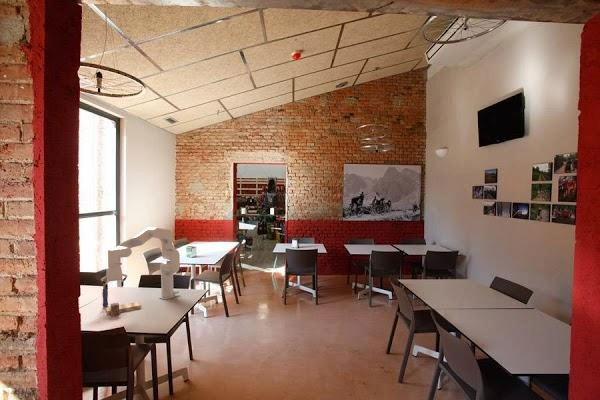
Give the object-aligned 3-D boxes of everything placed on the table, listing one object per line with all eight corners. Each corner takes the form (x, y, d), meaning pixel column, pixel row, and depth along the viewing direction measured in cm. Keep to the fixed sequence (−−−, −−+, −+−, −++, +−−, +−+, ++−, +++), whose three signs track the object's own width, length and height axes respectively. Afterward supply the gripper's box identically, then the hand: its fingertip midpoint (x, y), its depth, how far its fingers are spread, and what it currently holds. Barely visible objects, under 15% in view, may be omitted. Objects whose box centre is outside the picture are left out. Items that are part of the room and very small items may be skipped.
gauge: (116, 309, 249) (116, 299, 249) (119, 315, 238) (119, 304, 238) (109, 310, 246) (109, 300, 246) (111, 316, 235) (111, 305, 235)
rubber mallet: (102, 309, 249) (102, 271, 248) (94, 308, 250) (94, 270, 250) (115, 304, 261) (114, 267, 260) (107, 303, 262) (107, 267, 262)
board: (139, 304, 260) (138, 301, 260) (141, 308, 252) (141, 305, 252) (106, 310, 246) (106, 307, 246) (107, 314, 238) (107, 311, 238)
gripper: (126, 262, 246) (126, 284, 246) (99, 266, 235) (100, 289, 236) (127, 264, 240) (128, 287, 240) (100, 268, 229) (101, 291, 230)
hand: (114, 288), depth 238 cm, fingers open, 9 cm apart
